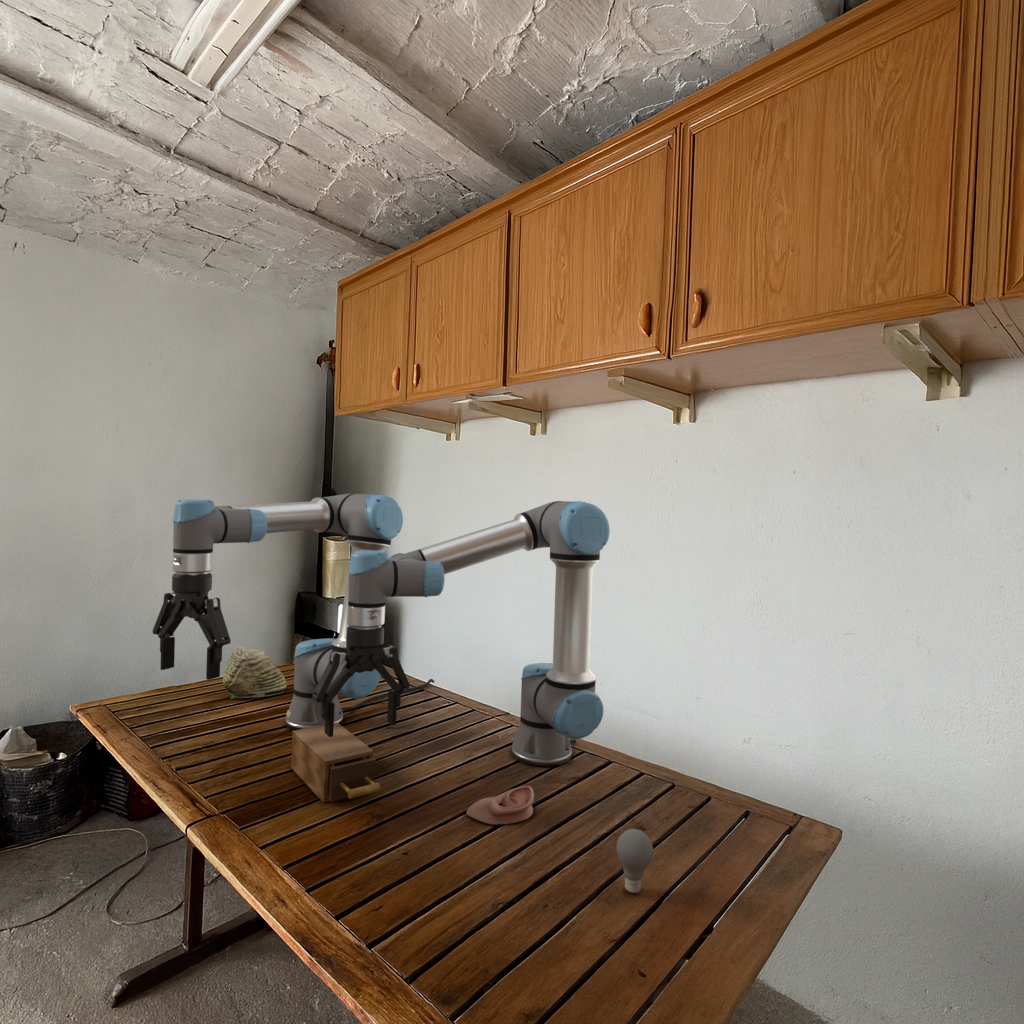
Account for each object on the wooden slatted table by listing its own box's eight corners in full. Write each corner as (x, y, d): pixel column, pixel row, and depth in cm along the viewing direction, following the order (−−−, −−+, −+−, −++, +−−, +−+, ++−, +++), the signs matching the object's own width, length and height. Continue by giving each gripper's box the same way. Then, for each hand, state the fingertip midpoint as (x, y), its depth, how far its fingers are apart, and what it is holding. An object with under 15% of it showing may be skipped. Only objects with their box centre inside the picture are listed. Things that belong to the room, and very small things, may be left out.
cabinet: (371, 789, 138) (373, 750, 138) (323, 802, 131) (325, 761, 131) (335, 757, 154) (337, 722, 154) (290, 767, 147) (292, 730, 147)
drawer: (387, 801, 131) (388, 769, 131) (342, 814, 125) (343, 780, 125) (339, 759, 151) (340, 731, 150) (299, 768, 145) (300, 739, 144)
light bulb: (610, 879, 108) (613, 822, 108) (644, 879, 109) (647, 822, 109) (619, 902, 102) (622, 840, 102) (655, 901, 103) (658, 840, 103)
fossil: (218, 695, 195) (220, 647, 195) (278, 685, 208) (279, 640, 207) (228, 703, 189) (230, 653, 188) (289, 692, 201) (290, 645, 201)
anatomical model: (462, 800, 126) (477, 776, 137) (461, 820, 126) (476, 794, 137) (528, 810, 123) (537, 784, 135) (527, 830, 123) (536, 803, 135)
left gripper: (135, 569, 134) (132, 668, 135) (221, 579, 124) (217, 687, 125) (167, 566, 141) (164, 660, 142) (250, 576, 131) (247, 677, 132)
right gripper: (311, 634, 119) (306, 746, 120) (428, 624, 134) (423, 724, 135) (298, 627, 125) (294, 733, 126) (411, 618, 140) (407, 713, 141)
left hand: (189, 673), depth 133 cm, fingers open, 13 cm apart
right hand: (361, 728), depth 130 cm, fingers open, 13 cm apart
